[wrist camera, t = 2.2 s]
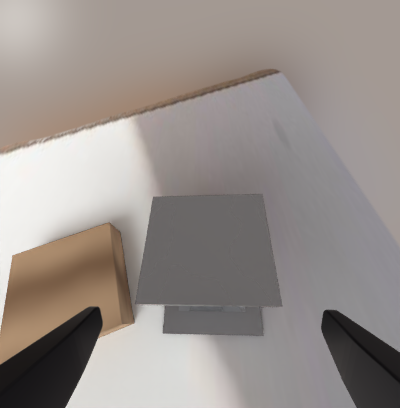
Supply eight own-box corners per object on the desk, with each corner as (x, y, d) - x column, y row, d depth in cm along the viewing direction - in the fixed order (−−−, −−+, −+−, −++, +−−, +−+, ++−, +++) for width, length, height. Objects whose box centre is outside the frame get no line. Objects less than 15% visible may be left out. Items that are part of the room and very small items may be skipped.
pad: (262, 335, 15) (263, 335, 15) (164, 332, 16) (162, 333, 15) (250, 239, 19) (251, 238, 19) (172, 240, 20) (171, 238, 19)
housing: (244, 311, 16) (282, 306, 7) (179, 310, 16) (135, 304, 7) (239, 254, 18) (262, 194, 9) (183, 254, 19) (153, 196, 10)
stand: (134, 323, 16) (121, 324, 14) (24, 368, 15) (-7, 376, 13) (120, 232, 21) (109, 222, 19) (34, 262, 20) (12, 255, 18)
